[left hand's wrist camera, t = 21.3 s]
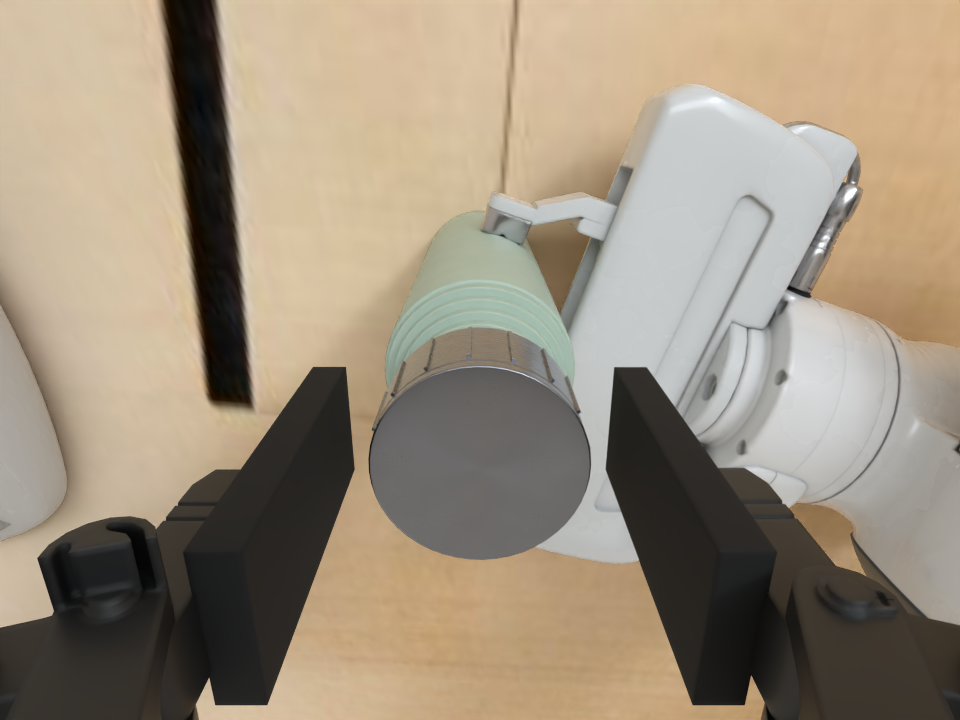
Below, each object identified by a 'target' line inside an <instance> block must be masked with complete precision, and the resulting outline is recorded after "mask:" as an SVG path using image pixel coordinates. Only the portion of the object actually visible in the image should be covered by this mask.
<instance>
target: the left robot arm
mask: <svg viewBox="0 0 960 720" xmlns="http://www.w3.org/2000/svg"><path fill="white" fill-rule="evenodd" d="M354 470H355V469H354V457H353V446H352V434H351V422H350V410H349V398H348V387H347V375H346V367H313V368H312V369H311V371H310V372H309V374H308V375H307V377H306V378H305V379H304V381H303V382H302V384H301V385H300V386H299V388H298V389H297V391H296V392H295V394H294V395H293V396H292V398H291V399H290V401H289V402H288V403H287V405H286V406H285V408H284V409H283V411H282V412H281V413H280V415H279V416H278V418H277V419H276V420H275V422H274V423H273V425H272V426H271V428H270V429H269V430H268V432H267V433H266V435H265V436H264V437H263V439H262V440H261V442H260V443H259V445H258V446H257V447H256V449H255V450H254V452H253V453H252V454H251V456H250V457H249V459H248V460H247V462H246V463H245V464H244V466H243V467H242V469H241V470H215V471H213V472H211V473H210V474H208V475H207V476H205V477H204V478H202V479H201V480H199V481H198V482H196V483H195V484H193V485H192V486H191V487H190V489H189V490H188V491H187V492H186V493H185V495H184V496H183V497H182V498H181V500H180V501H179V502H178V506H175V507H174V508H173V509H172V511H171V512H170V513H169V514H168V516H167V517H166V521H163V522H162V523H161V524H160V525H159V527H158V528H157V529H155V526H153V525H152V524H151V523H150V522H148V521H147V520H146V519H141V518H136V517H131V516H129V517H114V518H107V519H104V520H100V521H96V522H92V523H88V524H86V525H83V526H81V527H79V528H77V529H74V530H72V531H70V532H67V533H66V534H64V535H63V536H61V537H60V538H58V539H57V540H55V541H54V542H52V543H51V544H49V545H48V546H47V548H46V549H45V550H44V551H43V552H42V553H41V555H40V556H39V557H38V558H37V559H38V562H39V565H40V568H41V571H42V574H43V578H44V581H45V584H46V587H47V590H48V593H49V596H50V599H51V603H52V606H53V609H54V613H53V615H52V616H50V617H46V618H43V619H38V620H34V621H29V622H25V623H20V624H16V625H11V626H6V627H2V628H0V720H199V718H198V713H197V708H196V703H197V701H198V699H199V697H200V695H201V693H202V691H203V689H204V687H205V685H206V683H207V681H208V678H210V682H211V687H212V692H213V696H214V701H215V705H267V704H268V702H269V699H270V696H271V694H272V691H273V688H274V685H275V683H276V680H277V677H278V675H279V672H280V669H281V667H282V664H283V661H284V658H285V656H286V653H287V650H288V648H289V645H290V642H291V640H292V637H293V634H294V632H295V629H296V626H297V623H298V621H299V618H300V615H301V613H302V610H303V607H304V605H305V602H306V599H307V596H308V594H309V591H310V588H311V586H312V583H313V580H314V578H315V575H316V572H317V569H318V567H319V564H320V561H321V559H322V556H323V553H324V551H325V548H326V545H327V542H328V540H329V537H330V534H331V532H332V529H333V526H334V524H335V521H336V518H337V515H338V513H339V510H340V507H341V505H342V502H343V499H344V497H345V494H346V491H347V488H348V486H349V483H350V480H351V478H352V475H353V472H354ZM605 470H606V472H607V475H608V478H609V480H610V483H611V486H612V488H613V491H614V494H615V497H616V499H617V502H618V505H619V507H620V510H621V513H622V515H623V518H624V521H625V524H626V526H627V529H628V532H629V534H630V537H631V540H632V542H633V545H634V548H635V551H636V553H637V556H638V559H639V561H640V564H641V567H642V569H643V572H644V575H645V578H646V580H647V583H648V586H649V588H650V591H651V594H652V596H653V599H654V602H655V605H656V607H657V610H658V613H659V615H660V618H661V621H662V623H663V626H664V629H665V632H666V634H667V637H668V640H669V642H670V645H671V648H672V650H673V653H674V656H675V659H676V661H677V664H678V667H679V669H680V672H681V675H682V677H683V680H684V683H685V686H686V688H687V691H688V694H689V696H690V699H691V702H692V704H693V705H745V701H746V696H747V692H748V687H749V682H750V678H751V675H752V677H753V679H754V681H755V683H756V685H757V687H758V689H759V691H760V693H761V695H762V697H763V700H764V702H765V704H764V708H763V713H762V717H761V720H960V625H957V624H952V623H948V622H943V621H939V620H934V619H929V618H925V617H920V616H916V615H913V614H909V613H907V611H906V610H905V608H904V607H903V605H902V604H901V603H900V601H899V600H898V599H897V597H896V596H895V595H894V594H892V593H891V592H890V591H889V590H887V589H886V588H885V587H884V586H882V585H881V584H880V583H878V582H876V581H874V580H872V579H870V578H868V577H866V576H864V575H862V574H860V573H858V572H855V571H851V570H848V569H844V568H841V567H837V566H835V564H834V563H833V562H832V561H831V559H830V558H829V557H828V556H827V555H826V553H825V552H824V551H823V550H822V548H821V547H820V546H819V545H818V544H817V542H816V541H815V540H814V539H813V537H812V536H811V535H810V534H809V533H808V531H807V530H806V529H805V528H804V526H803V525H802V524H801V523H800V522H799V520H798V519H795V518H794V514H793V513H792V512H791V511H790V509H789V508H788V507H787V506H786V504H782V499H781V498H780V497H779V496H778V495H777V493H776V492H775V491H774V490H773V488H772V487H771V486H770V485H769V484H768V483H767V482H766V481H764V480H763V479H761V478H760V477H758V476H757V475H755V474H753V473H752V472H750V471H749V470H747V469H746V468H718V467H717V466H716V464H715V463H714V462H713V460H712V459H711V457H710V456H709V454H708V453H707V452H706V450H705V449H704V447H703V446H702V445H701V443H700V442H699V440H698V439H697V437H696V436H695V435H694V433H693V432H692V430H691V429H690V428H689V426H688V425H687V423H686V422H685V420H684V419H683V418H682V416H681V415H680V413H679V412H678V411H677V409H676V408H675V406H674V405H673V403H672V402H671V401H670V399H669V398H668V396H667V395H666V394H665V392H664V391H663V389H662V388H661V386H660V385H659V384H658V382H657V381H656V379H655V378H654V377H653V375H652V374H651V372H650V371H649V369H648V368H647V367H614V375H613V387H612V398H611V410H610V422H609V434H608V445H607V457H606V469H605Z"/></svg>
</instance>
